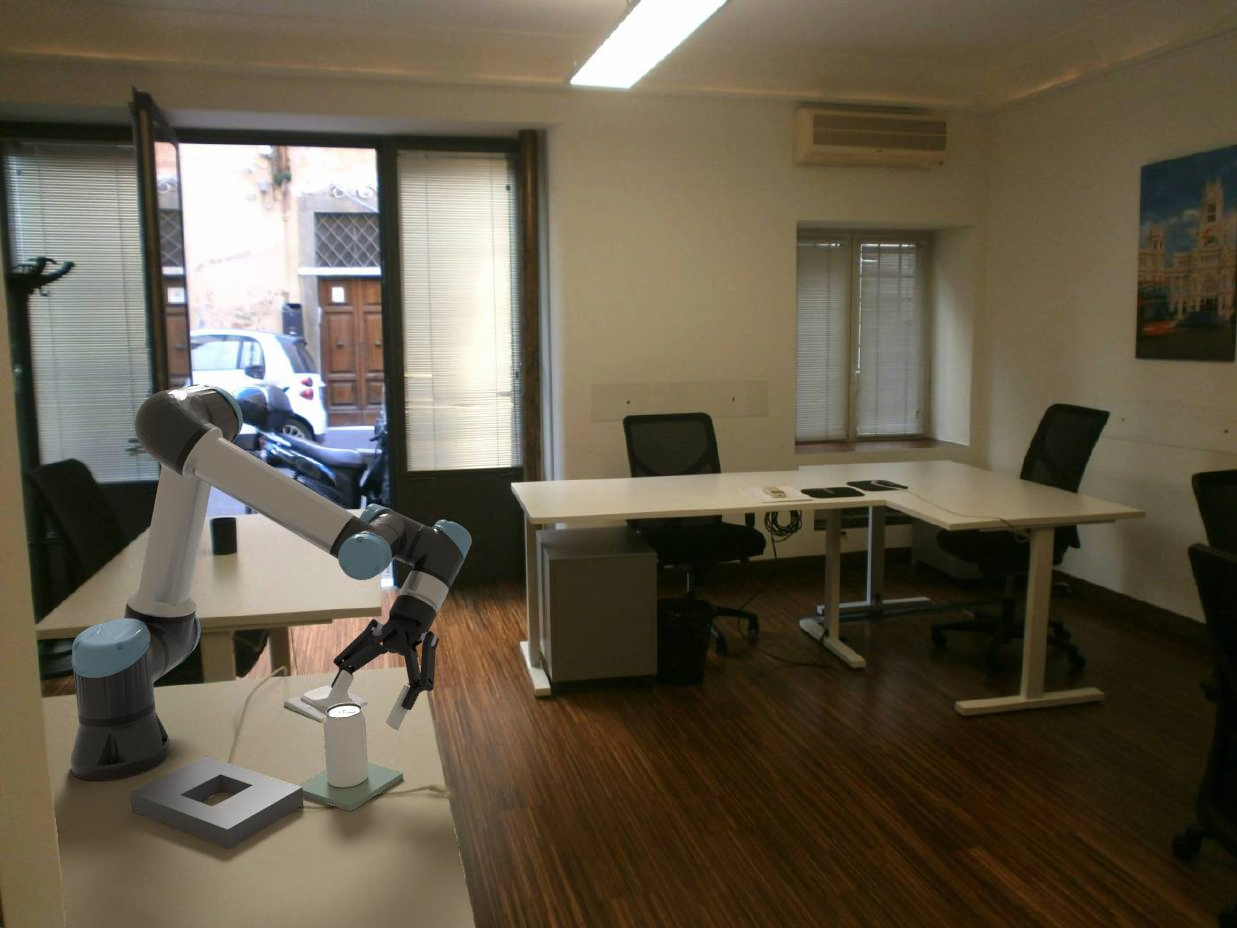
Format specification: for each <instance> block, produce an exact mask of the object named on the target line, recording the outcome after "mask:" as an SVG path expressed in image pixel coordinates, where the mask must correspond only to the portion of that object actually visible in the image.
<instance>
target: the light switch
mask: <svg viewBox="0 0 1237 928" xmlns="http://www.w3.org/2000/svg"><path fill="white" fill-rule="evenodd" d="M331 685H332V683H331V684H328V685H324V686H320V687H317V688H315V689H311V690H309V691H306V692H304V693H302V694H300V695H298V696H295V697H292V698H289V699H287V700H285V701H284V702H283V706H285V707H286V708H288V709H290V710H292V711H295V712H296V711H297V713H299V712H300V713H299V714H301V713H302V714H301V715H303V714H304V716H305V717H308V718H309V719H312V718H313V719H312V720H315V719H316V720H315V721H317V720H318V721H317V722H319V721H320V722H319V723H324V719H325V717H326V710H327V708H326V707H325V706H323V705H324V703H325V701H326V699H327V697H328V695H329V694H330V692H331V690H332V688H331ZM341 703H356V704H359V705H361V707H362V708H363V707H366V706H368V705H369V702H368V701H366V700H365V699H363V698H360V697H359V696H357V695H355V694H352V693H350V692H349V691H347V692H346V694H345V696H344V698H343V700H342V702H341ZM367 704H368V705H367ZM365 705H366V706H365Z"/></svg>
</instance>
